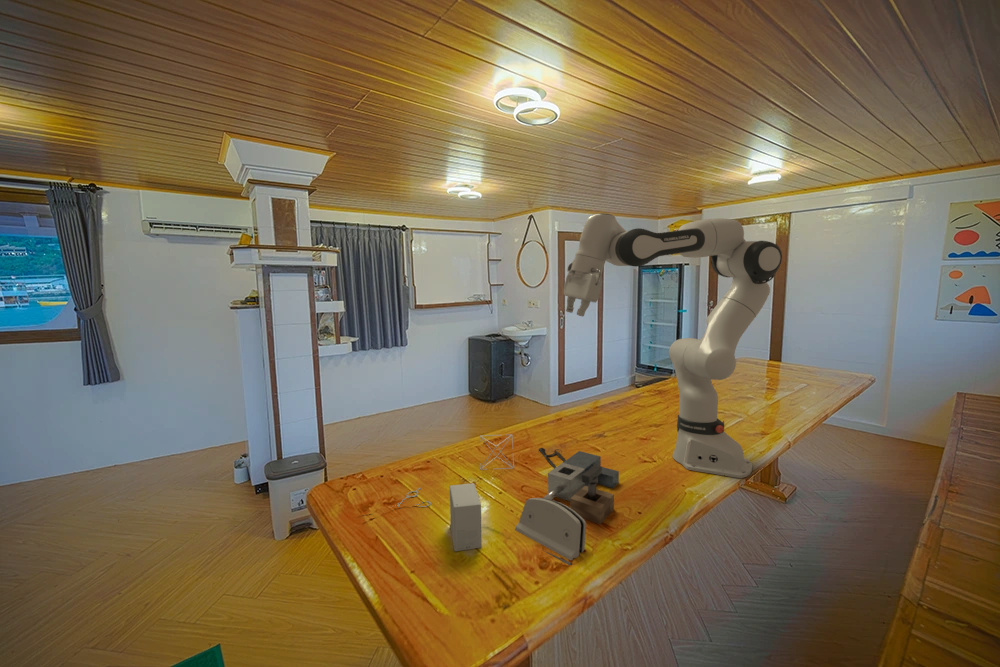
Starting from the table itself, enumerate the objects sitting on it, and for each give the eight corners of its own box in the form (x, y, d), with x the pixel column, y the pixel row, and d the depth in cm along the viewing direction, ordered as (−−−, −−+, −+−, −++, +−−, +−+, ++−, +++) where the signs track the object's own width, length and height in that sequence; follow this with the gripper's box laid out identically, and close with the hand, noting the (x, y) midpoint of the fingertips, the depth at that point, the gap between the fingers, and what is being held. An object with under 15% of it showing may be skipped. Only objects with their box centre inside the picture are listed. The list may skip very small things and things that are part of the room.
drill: (579, 472, 127) (579, 451, 126) (620, 484, 119) (620, 461, 118) (534, 508, 107) (533, 483, 106) (579, 525, 99) (579, 498, 98)
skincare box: (483, 547, 92) (481, 503, 91) (454, 552, 91) (452, 507, 89) (476, 521, 102) (474, 481, 101) (450, 525, 101) (448, 485, 100)
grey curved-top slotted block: (512, 533, 97) (521, 490, 98) (525, 531, 100) (533, 489, 101) (571, 566, 85) (580, 517, 86) (583, 563, 88) (592, 515, 90)
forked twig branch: (537, 451, 145) (537, 447, 145) (564, 447, 147) (564, 443, 147) (564, 482, 122) (564, 477, 121) (596, 477, 124) (596, 472, 124)
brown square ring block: (613, 513, 104) (613, 494, 104) (600, 528, 98) (600, 508, 97) (585, 503, 109) (585, 485, 109) (570, 517, 103) (570, 498, 102)
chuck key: (603, 507, 105) (603, 466, 104) (591, 519, 100) (591, 477, 99) (593, 503, 107) (593, 464, 106) (580, 515, 102) (580, 474, 100)
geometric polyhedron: (521, 462, 136) (520, 435, 135) (505, 475, 126) (504, 447, 125) (489, 455, 142) (488, 430, 141) (471, 468, 132) (470, 440, 131)
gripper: (612, 271, 111) (597, 321, 113) (584, 270, 131) (572, 312, 133) (591, 265, 110) (576, 315, 112) (566, 265, 130) (554, 308, 131)
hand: (574, 313), depth 122 cm, fingers open, 8 cm apart
